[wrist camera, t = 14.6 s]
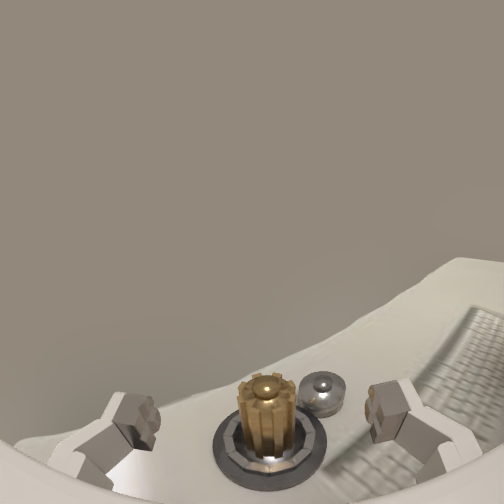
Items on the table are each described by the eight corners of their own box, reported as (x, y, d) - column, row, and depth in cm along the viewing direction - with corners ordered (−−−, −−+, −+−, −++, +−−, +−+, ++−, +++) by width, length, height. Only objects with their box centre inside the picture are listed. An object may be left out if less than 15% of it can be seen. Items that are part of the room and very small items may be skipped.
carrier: (269, 393, 36) (268, 381, 35) (347, 438, 27) (350, 427, 26) (193, 443, 28) (188, 433, 27) (270, 511, 19) (269, 505, 18)
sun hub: (316, 380, 37) (318, 360, 36) (351, 397, 33) (355, 377, 32) (289, 404, 34) (289, 384, 32) (325, 424, 29) (328, 405, 28)
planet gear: (282, 417, 30) (281, 359, 27) (302, 449, 25) (307, 394, 22) (239, 431, 29) (228, 374, 25) (255, 466, 24) (246, 414, 20)
